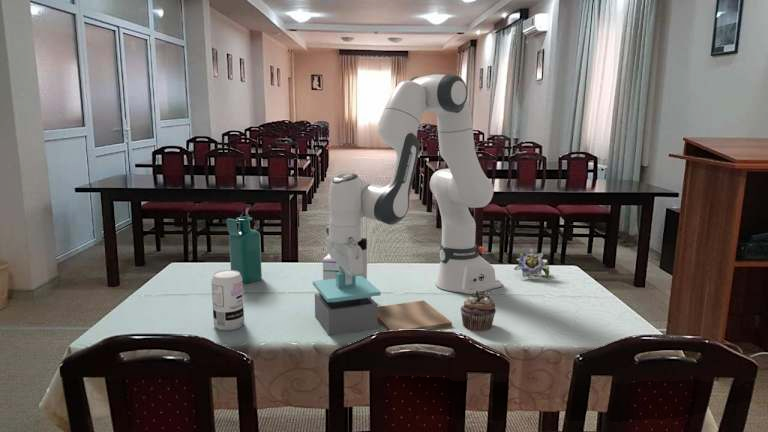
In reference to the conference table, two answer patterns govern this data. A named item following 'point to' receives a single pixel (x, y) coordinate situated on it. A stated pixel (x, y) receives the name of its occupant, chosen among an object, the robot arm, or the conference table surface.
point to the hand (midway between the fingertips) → (345, 281)
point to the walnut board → (411, 316)
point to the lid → (345, 288)
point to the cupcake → (478, 312)
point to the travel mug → (364, 255)
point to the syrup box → (329, 268)
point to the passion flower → (532, 264)
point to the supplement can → (227, 300)
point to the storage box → (346, 315)
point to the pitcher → (244, 249)
